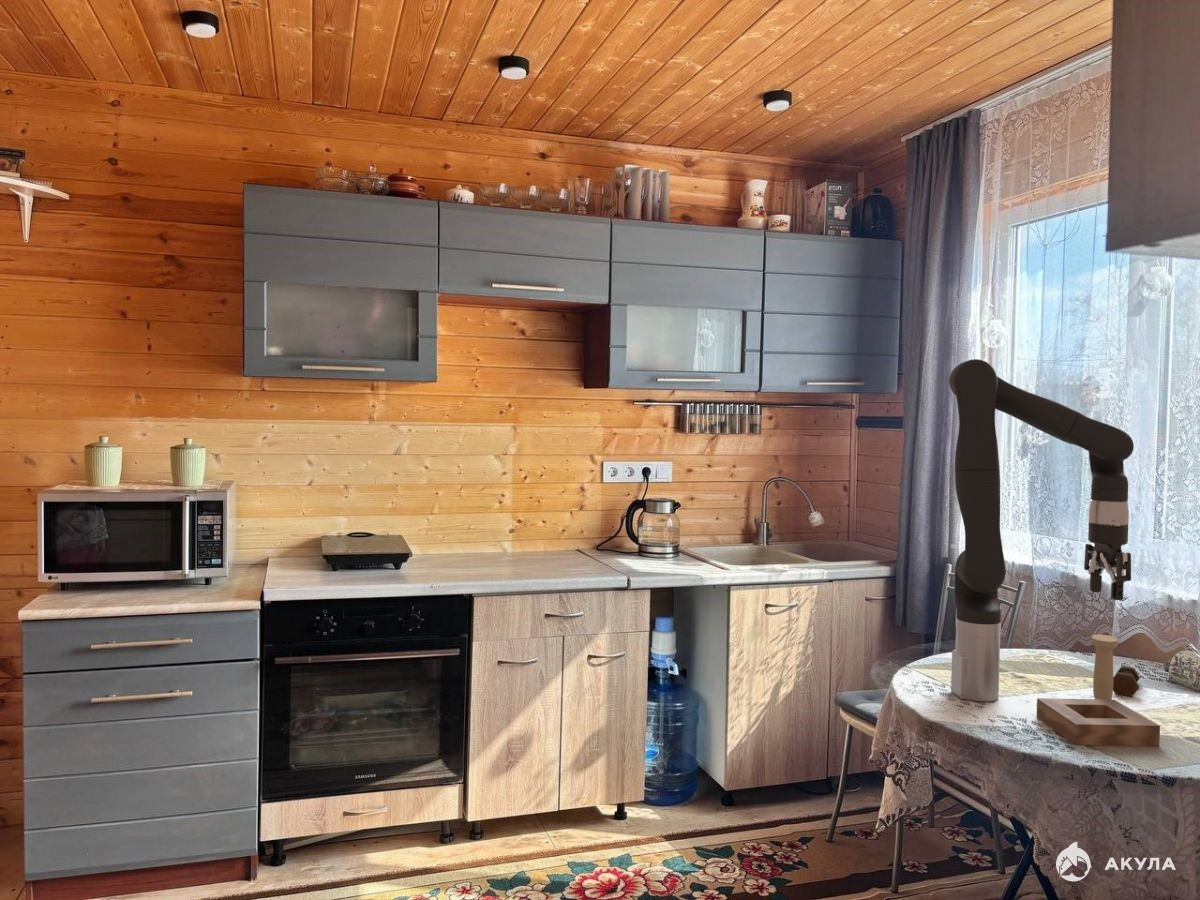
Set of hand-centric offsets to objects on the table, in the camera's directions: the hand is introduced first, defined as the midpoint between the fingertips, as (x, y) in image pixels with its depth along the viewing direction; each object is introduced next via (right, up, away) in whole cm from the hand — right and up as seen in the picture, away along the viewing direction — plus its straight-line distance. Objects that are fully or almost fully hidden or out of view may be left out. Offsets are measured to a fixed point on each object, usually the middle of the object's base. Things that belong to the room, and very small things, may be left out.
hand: (1106, 595), depth 198 cm
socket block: (-10, -25, -15) cm, 31 cm away
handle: (0, -24, +1) cm, 24 cm away
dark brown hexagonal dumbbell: (+13, -24, +15) cm, 31 cm away
